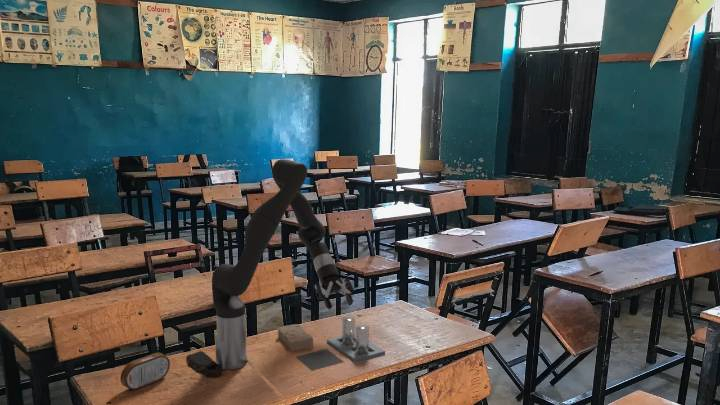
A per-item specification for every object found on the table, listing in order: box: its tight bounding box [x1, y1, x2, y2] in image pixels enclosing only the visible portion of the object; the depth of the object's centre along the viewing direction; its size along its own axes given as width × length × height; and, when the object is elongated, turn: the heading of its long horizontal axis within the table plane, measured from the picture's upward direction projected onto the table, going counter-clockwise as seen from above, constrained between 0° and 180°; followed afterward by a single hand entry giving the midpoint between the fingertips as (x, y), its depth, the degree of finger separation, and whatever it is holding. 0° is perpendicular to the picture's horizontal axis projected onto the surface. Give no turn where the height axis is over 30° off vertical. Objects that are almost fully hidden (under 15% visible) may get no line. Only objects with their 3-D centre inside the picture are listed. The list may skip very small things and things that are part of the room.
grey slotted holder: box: [326, 332, 386, 363], centre depth 187 cm, size 12×19×2 cm, turn 32°
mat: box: [295, 348, 345, 372], centre depth 178 cm, size 12×12×1 cm
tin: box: [120, 352, 171, 390], centre depth 162 cm, size 15×3×8 cm, turn 142°
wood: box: [186, 350, 223, 379], centre depth 175 cm, size 22×7×3 cm, turn 38°
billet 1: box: [341, 316, 356, 346], centre depth 191 cm, size 5×5×10 cm
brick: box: [277, 323, 314, 352], centre depth 193 cm, size 17×8×5 cm, turn 26°
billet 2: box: [355, 324, 370, 355], centre depth 183 cm, size 5×5×10 cm
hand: (340, 306), depth 194 cm, fingers open, 8 cm apart
